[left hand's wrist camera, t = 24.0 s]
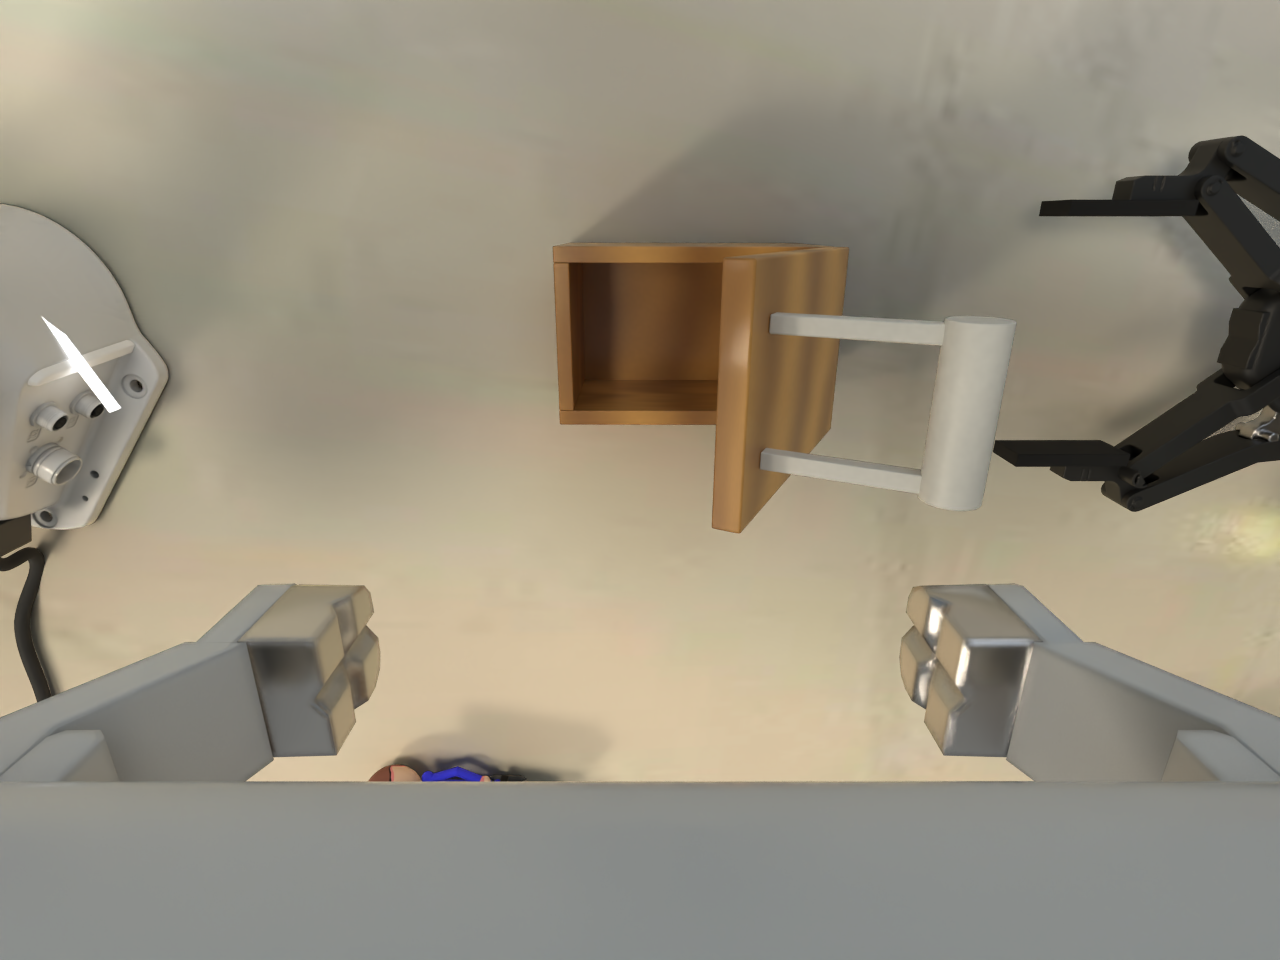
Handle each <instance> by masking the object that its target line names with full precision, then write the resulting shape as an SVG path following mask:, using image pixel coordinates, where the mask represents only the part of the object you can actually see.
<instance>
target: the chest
mask: <svg viewBox="0 0 1280 960" xmlns="http://www.w3.org/2000/svg"><path fill="white" fill-rule="evenodd" d="M823 247H832V246H821V245H811V244H800V243H567V244H562V245H557V246H553V262H554V289H555V313H556V338H557V362H558V387H559V409H560V424H634V425H716V416H717V393H718V369H719V345H720V322H721V298H722V274H723V259H724V258H726V257H734V256H744V255H754V254H764V253H774V252H783V251H793V250H803V249H813V248H823Z"/></svg>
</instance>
